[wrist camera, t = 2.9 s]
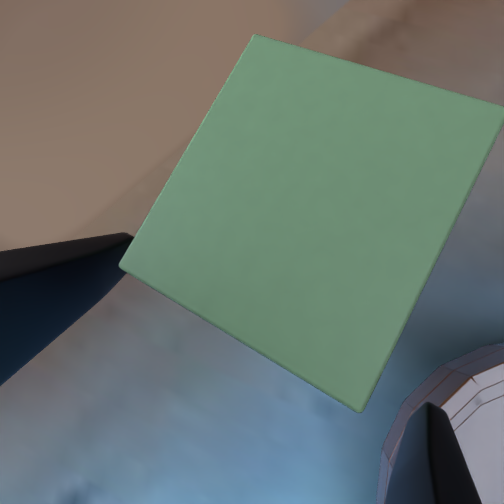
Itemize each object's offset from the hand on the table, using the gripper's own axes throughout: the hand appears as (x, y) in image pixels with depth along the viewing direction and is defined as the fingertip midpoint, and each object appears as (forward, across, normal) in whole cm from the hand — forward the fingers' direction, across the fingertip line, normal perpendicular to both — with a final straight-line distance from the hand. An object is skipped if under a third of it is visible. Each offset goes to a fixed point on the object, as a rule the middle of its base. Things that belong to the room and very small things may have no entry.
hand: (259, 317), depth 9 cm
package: (+9, 0, +5) cm, 10 cm away
